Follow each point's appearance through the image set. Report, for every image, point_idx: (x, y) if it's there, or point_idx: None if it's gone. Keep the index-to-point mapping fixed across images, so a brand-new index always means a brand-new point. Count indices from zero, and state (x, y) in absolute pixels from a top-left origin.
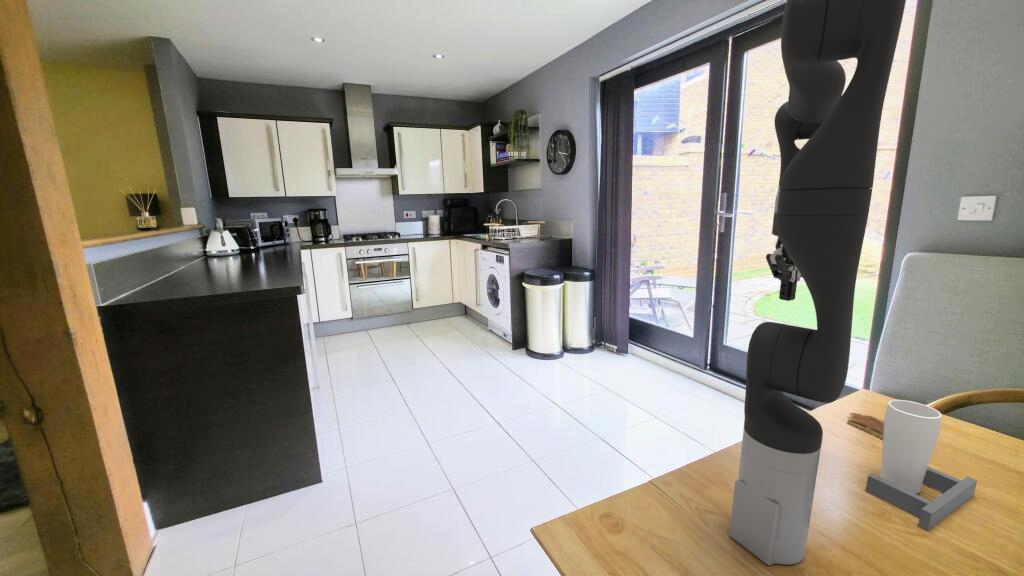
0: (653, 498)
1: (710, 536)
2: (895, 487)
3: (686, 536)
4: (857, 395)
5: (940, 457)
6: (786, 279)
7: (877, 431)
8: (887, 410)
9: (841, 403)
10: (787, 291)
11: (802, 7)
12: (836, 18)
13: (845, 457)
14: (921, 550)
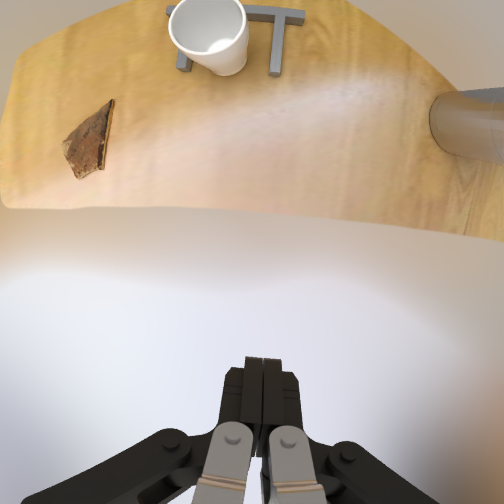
0: (478, 225)
1: (484, 162)
2: (280, 44)
3: (496, 177)
4: (17, 207)
5: (101, 66)
6: (353, 443)
7: (102, 130)
8: (227, 52)
9: (52, 206)
10: (296, 396)
11: None
12: None
13: (209, 122)
14: (344, 18)
